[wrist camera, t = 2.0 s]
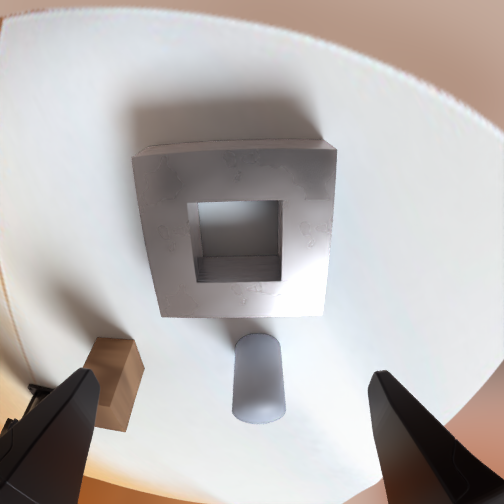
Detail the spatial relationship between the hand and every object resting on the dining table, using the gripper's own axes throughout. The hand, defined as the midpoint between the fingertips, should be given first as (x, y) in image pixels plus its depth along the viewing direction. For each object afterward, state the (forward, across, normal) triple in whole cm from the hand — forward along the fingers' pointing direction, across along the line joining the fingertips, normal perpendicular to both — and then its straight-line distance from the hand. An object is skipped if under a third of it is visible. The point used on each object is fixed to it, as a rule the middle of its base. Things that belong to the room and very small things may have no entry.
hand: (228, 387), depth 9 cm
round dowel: (+12, -1, +11) cm, 16 cm away
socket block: (+12, 0, 0) cm, 12 cm away
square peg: (+12, +11, +12) cm, 20 cm away
